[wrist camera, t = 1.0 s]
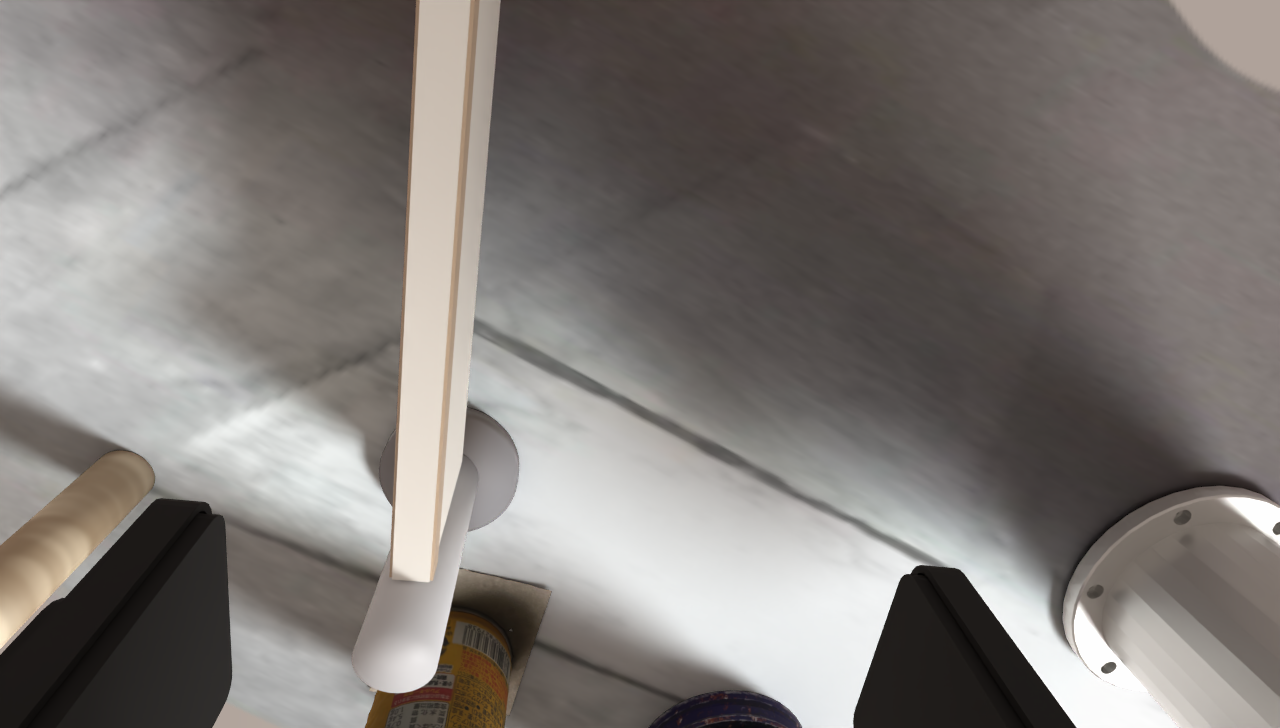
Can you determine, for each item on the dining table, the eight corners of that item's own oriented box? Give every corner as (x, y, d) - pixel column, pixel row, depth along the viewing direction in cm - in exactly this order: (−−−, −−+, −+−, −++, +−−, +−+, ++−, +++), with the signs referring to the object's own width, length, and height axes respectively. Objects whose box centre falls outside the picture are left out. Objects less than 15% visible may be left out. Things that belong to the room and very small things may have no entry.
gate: (476, 505, 35) (435, 695, 25) (417, 499, 34) (351, 690, 24) (529, -62, 26) (499, -125, 16) (451, -76, 26) (372, -150, 16)
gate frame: (590, -153, 26) (601, -292, 15) (512, 531, 37) (484, 742, 26) (9, -272, 24) (-470, -536, 13) (99, 495, 34) (-128, 709, 23)
